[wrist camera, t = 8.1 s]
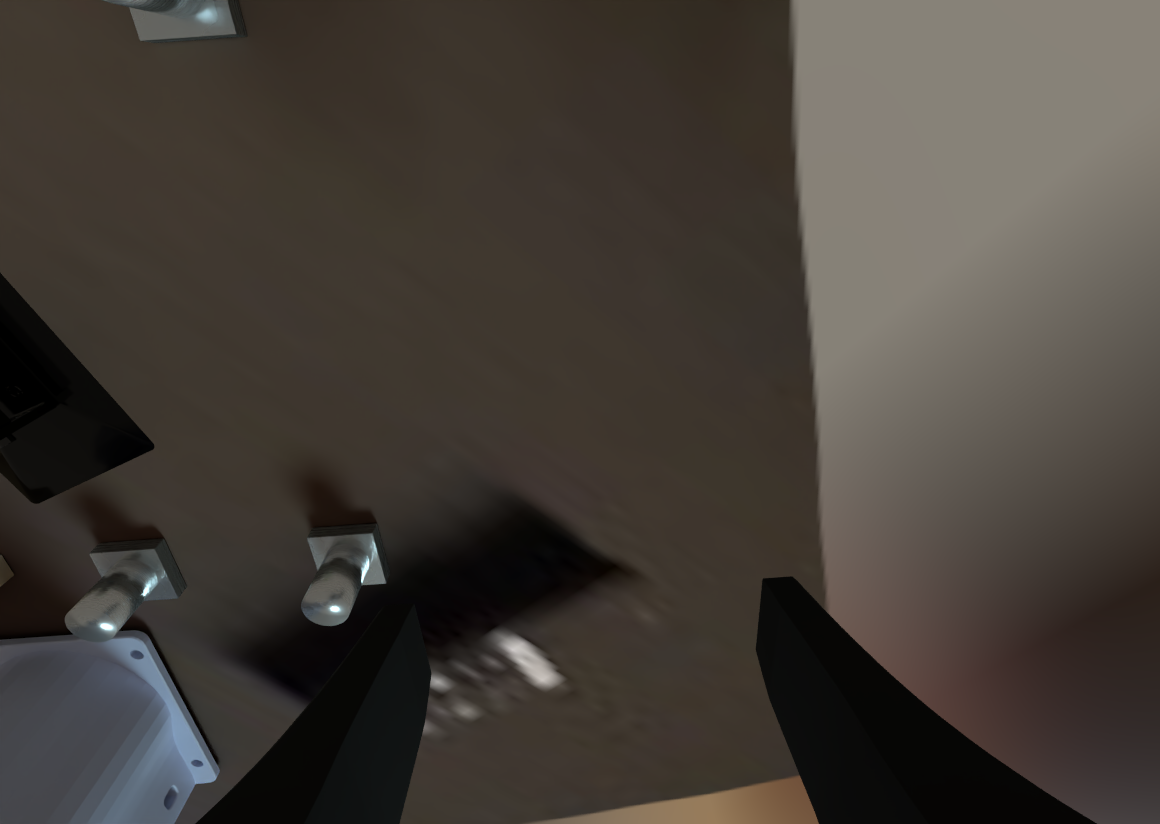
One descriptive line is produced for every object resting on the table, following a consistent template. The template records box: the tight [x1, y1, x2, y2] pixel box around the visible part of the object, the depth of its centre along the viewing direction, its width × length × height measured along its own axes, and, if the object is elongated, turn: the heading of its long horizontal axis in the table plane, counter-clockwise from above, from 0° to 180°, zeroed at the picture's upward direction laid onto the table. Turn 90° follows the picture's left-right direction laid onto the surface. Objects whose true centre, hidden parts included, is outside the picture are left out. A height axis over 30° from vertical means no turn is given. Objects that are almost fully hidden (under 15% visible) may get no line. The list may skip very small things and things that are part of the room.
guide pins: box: [65, 0, 390, 642], centre depth 18 cm, size 20×10×3 cm, turn 4°
